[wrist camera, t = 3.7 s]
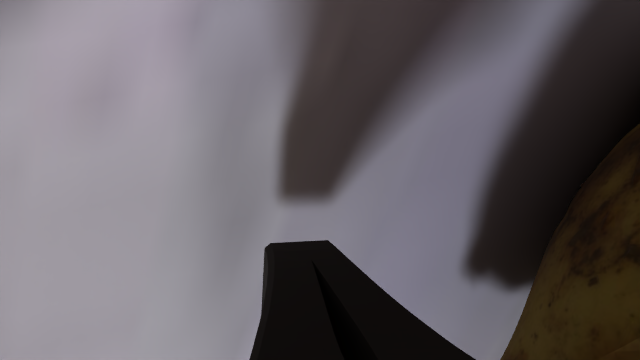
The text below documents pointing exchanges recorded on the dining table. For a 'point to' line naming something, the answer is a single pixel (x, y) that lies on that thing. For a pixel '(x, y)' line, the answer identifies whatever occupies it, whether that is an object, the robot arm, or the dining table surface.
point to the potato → (590, 271)
